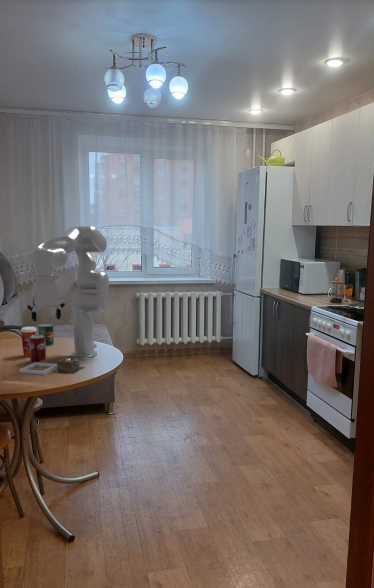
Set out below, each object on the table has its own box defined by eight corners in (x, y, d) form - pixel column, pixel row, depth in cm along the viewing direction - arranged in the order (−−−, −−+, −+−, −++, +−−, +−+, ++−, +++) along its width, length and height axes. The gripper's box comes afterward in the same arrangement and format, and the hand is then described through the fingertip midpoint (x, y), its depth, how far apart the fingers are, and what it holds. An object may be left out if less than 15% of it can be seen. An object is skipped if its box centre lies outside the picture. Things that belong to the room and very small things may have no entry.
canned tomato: (40, 343, 263) (40, 323, 262) (55, 342, 264) (54, 323, 263) (37, 346, 256) (36, 326, 254) (52, 346, 256) (51, 326, 255)
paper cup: (25, 358, 231) (24, 330, 229) (19, 355, 237) (17, 327, 235) (40, 355, 236) (39, 328, 234) (34, 352, 242) (33, 325, 240)
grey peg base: (63, 367, 215) (63, 355, 214) (85, 369, 212) (85, 356, 212) (50, 374, 205) (50, 361, 204) (73, 376, 202) (73, 363, 201)
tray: (35, 367, 215) (35, 362, 215) (58, 369, 212) (58, 364, 212) (19, 375, 204) (19, 369, 203) (43, 377, 201) (43, 371, 200)
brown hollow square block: (65, 366, 213) (65, 357, 212) (81, 368, 210) (81, 358, 210) (57, 370, 206) (57, 361, 205) (73, 372, 204) (73, 362, 203)
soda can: (47, 359, 230) (47, 334, 228) (43, 363, 223) (42, 338, 221) (32, 359, 230) (31, 335, 228) (28, 363, 222) (27, 338, 221)
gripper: (63, 277, 202) (64, 316, 205) (21, 279, 194) (23, 320, 196) (68, 278, 196) (69, 319, 198) (25, 281, 187) (27, 323, 190)
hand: (46, 320), depth 197 cm, fingers open, 9 cm apart
